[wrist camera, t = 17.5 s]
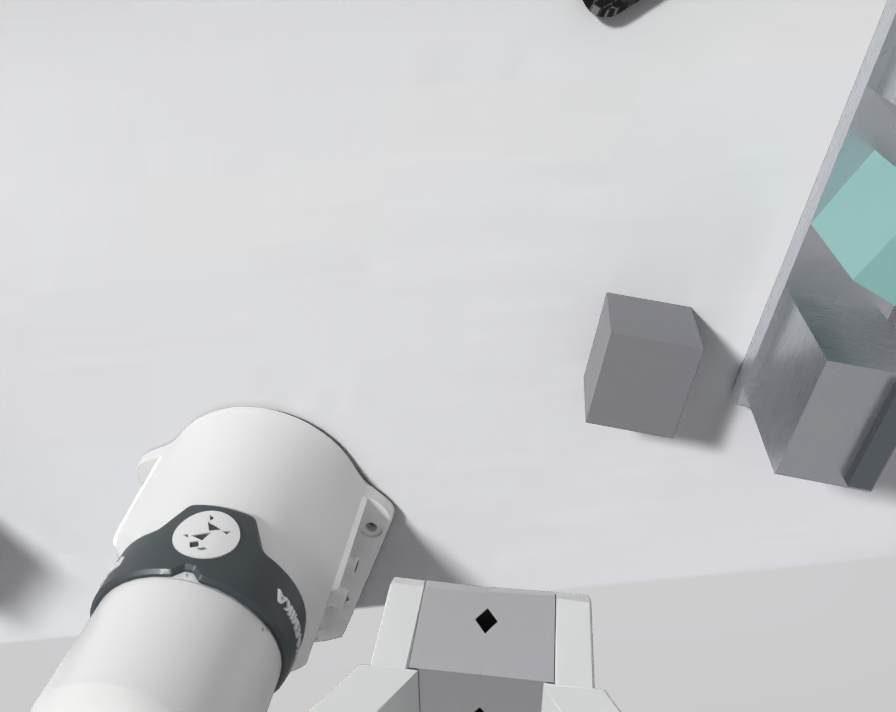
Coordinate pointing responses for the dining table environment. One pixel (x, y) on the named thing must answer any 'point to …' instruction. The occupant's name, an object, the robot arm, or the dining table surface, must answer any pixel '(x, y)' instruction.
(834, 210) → the block
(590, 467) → the dining table surface
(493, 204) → the dining table surface
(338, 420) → the dining table surface
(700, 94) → the dining table surface
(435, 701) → the robot arm
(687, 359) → the block
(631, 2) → the phone
